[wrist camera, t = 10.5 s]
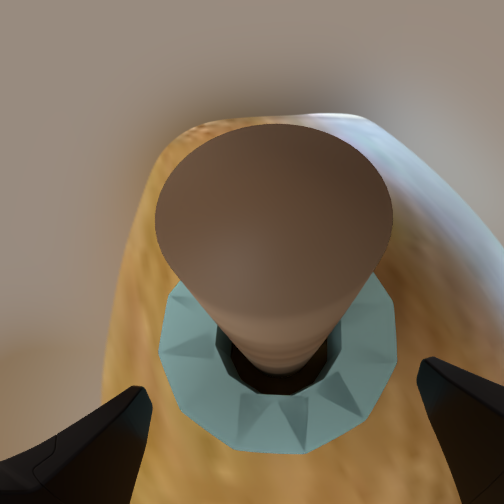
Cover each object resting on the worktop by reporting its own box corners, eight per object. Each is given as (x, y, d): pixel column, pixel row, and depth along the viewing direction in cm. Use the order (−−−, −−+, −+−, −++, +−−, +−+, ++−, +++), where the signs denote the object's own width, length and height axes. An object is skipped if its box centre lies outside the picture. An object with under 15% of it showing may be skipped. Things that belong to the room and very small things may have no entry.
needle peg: (321, 360, 15) (436, 237, 3) (264, 388, 14) (197, 362, 3) (293, 308, 16) (310, 107, 5) (239, 334, 16) (140, 167, 5)
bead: (367, 435, 12) (393, 446, 8) (178, 426, 13) (148, 432, 10) (365, 265, 17) (382, 231, 14) (201, 260, 19) (183, 227, 15)
